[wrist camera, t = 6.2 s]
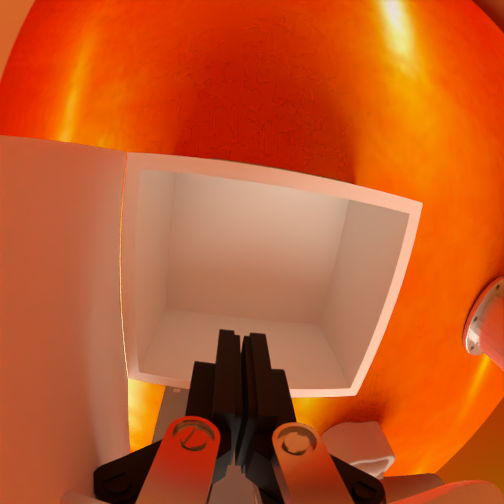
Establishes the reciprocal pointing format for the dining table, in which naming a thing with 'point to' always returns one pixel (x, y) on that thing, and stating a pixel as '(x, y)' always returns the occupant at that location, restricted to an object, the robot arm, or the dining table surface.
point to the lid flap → (59, 318)
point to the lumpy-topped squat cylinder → (360, 446)
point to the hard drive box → (234, 483)
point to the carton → (258, 268)
